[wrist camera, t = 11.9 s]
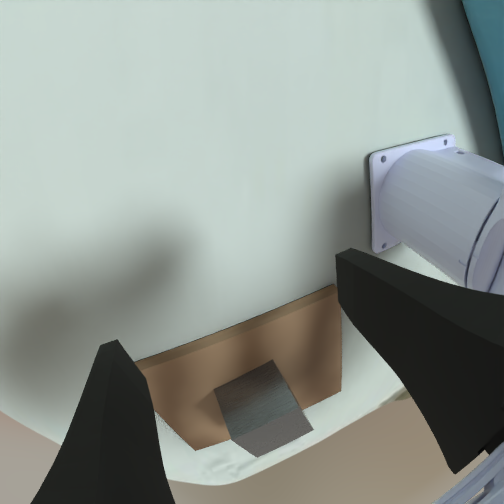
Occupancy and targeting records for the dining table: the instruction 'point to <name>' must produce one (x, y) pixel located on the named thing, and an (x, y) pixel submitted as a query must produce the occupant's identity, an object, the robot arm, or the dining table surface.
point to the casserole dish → (490, 48)
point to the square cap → (261, 410)
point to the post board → (248, 364)
